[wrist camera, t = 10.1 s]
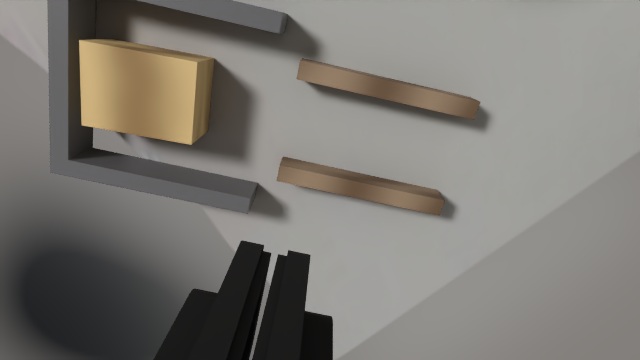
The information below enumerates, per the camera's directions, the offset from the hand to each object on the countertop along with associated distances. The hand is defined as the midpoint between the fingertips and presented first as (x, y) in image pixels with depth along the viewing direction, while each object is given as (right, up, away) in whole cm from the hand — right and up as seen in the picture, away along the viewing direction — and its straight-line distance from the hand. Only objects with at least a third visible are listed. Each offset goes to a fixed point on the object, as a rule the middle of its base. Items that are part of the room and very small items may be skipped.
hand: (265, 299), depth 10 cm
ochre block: (-10, +10, +19) cm, 23 cm away
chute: (+5, +6, +20) cm, 21 cm away
